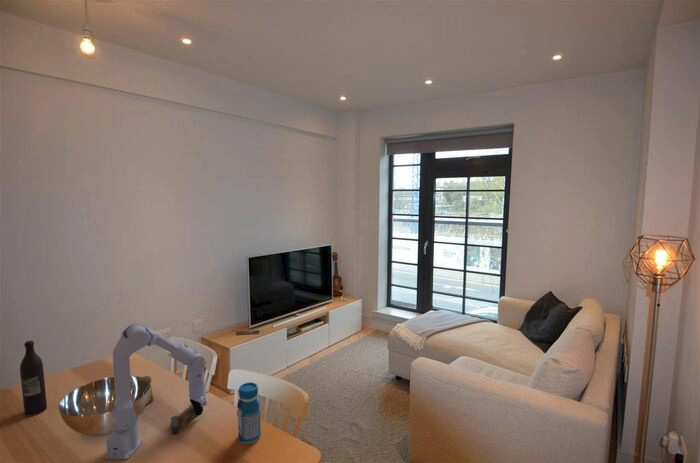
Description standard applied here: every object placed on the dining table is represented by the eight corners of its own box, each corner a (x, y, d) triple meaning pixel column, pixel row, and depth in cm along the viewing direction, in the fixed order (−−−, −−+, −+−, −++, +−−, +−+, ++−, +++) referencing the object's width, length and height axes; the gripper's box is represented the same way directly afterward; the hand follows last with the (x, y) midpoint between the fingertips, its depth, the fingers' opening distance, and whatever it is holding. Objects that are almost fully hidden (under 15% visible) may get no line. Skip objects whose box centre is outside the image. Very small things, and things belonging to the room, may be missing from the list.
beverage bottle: (251, 447, 131) (249, 395, 129) (233, 440, 135) (231, 389, 132) (265, 433, 139) (264, 383, 136) (248, 427, 142) (247, 378, 140)
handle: (179, 430, 140) (178, 419, 139) (176, 429, 140) (175, 418, 140) (203, 411, 151) (202, 400, 151) (200, 410, 152) (199, 400, 151)
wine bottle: (20, 414, 148) (12, 344, 145) (38, 404, 155) (31, 337, 152) (33, 417, 147) (26, 346, 143) (51, 407, 154) (44, 339, 150)
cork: (156, 398, 161) (155, 374, 160) (147, 406, 155) (146, 381, 154) (143, 397, 162) (142, 373, 160) (134, 405, 156) (132, 380, 154)
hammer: (176, 434, 137) (175, 420, 137) (165, 434, 138) (164, 419, 137) (202, 400, 159) (201, 387, 159) (193, 400, 160) (192, 387, 159)
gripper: (213, 386, 142) (215, 419, 144) (200, 372, 153) (202, 402, 155) (195, 393, 138) (197, 427, 139) (182, 378, 148) (184, 409, 150)
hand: (198, 414), depth 147 cm, fingers closed
